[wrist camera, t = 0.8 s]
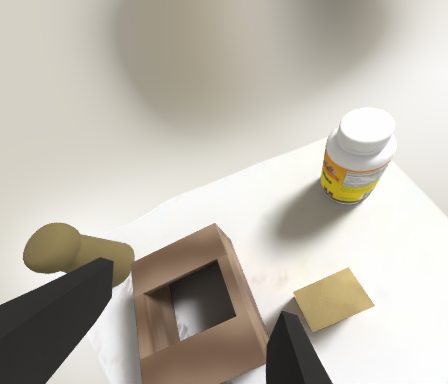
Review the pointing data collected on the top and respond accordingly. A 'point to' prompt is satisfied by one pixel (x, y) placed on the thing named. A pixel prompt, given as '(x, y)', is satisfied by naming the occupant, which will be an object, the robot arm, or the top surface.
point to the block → (332, 299)
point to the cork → (74, 251)
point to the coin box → (206, 340)
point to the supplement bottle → (357, 155)
